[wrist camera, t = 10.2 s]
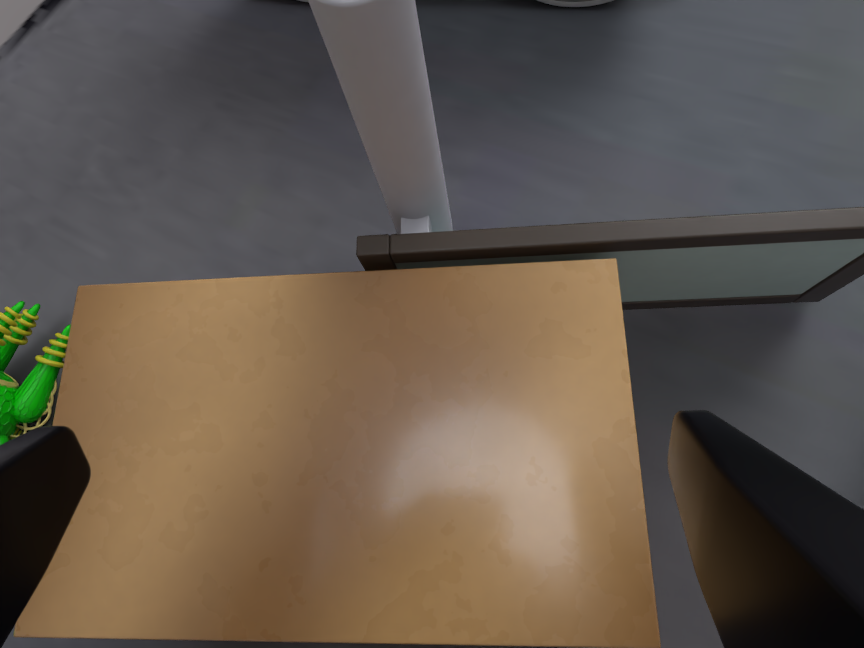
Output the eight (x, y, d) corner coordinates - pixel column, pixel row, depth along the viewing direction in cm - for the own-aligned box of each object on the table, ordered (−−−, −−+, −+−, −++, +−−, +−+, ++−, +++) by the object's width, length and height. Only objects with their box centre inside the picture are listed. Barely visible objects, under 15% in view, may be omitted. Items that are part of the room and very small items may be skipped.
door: (393, 319, 21) (251, 79, 9) (394, 242, 21) (266, -73, 10) (819, 301, 19) (1358, -20, 7) (800, 219, 20) (1251, -188, 8)
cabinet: (156, 594, 19) (11, 637, 13) (190, 314, 22) (83, 251, 16) (608, 599, 18) (661, 649, 12) (580, 296, 20) (612, 220, 15)
